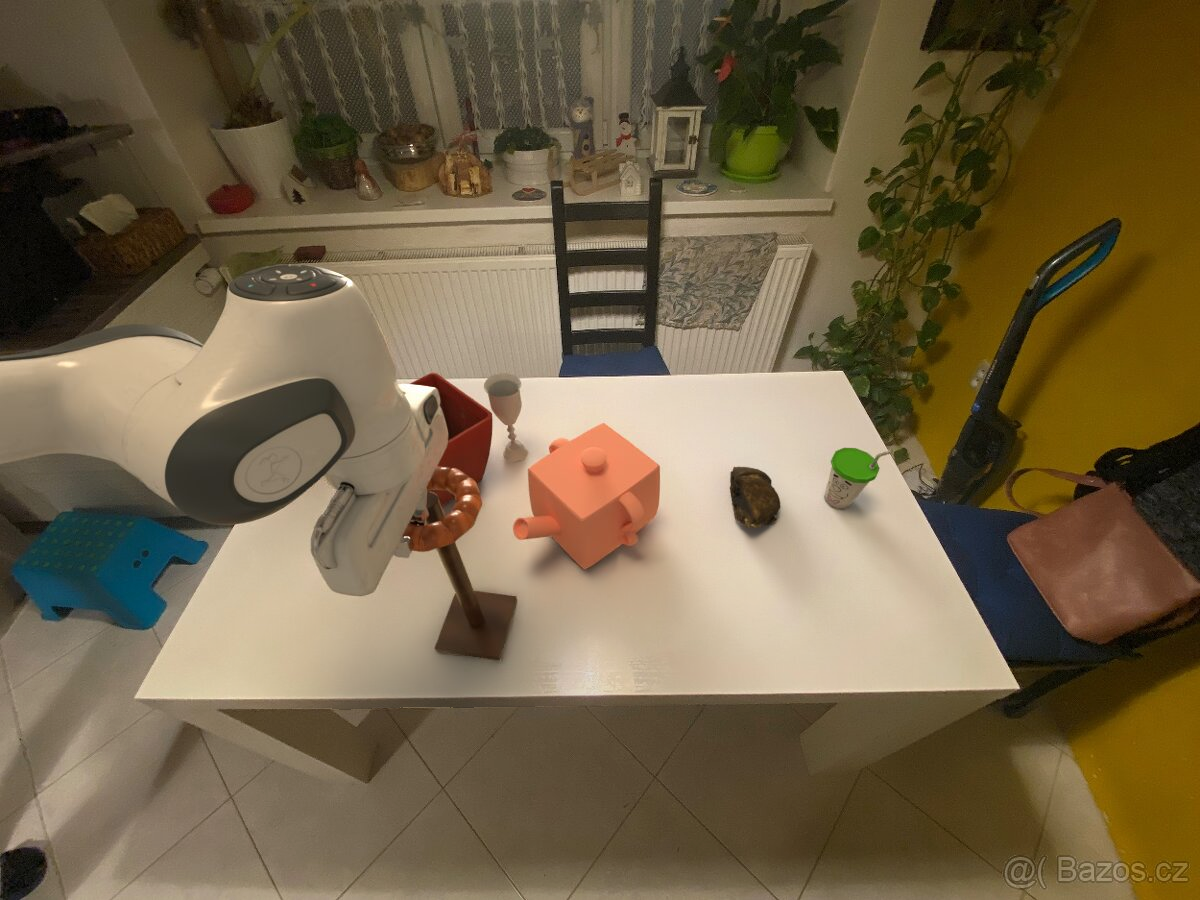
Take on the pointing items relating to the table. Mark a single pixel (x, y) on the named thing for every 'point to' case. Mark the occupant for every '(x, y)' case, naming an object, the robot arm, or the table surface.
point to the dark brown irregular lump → (753, 497)
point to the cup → (850, 475)
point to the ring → (454, 521)
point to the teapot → (591, 494)
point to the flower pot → (461, 431)
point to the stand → (470, 606)
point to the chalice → (507, 409)
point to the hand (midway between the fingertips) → (412, 535)
